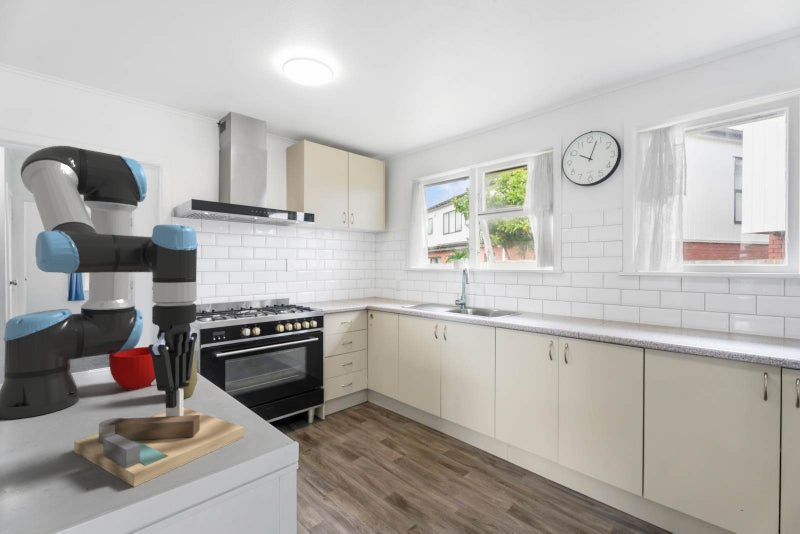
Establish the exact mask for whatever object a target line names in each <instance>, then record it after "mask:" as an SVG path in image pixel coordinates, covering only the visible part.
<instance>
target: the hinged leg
mask: <svg viewBox="0 0 800 534" xmlns="http://www.w3.org/2000/svg"><path fill="white" fill-rule="evenodd" d="M199 430H200V415H187V416H166V417H151V416H149V417H147V416H146V417H128V418H124V417H115V418H109V419H106V420H103V421H100V423H98V433H99V442H101V443H103V438H106V437H109V436H112V435H115V434H118V435H120V436H122V437H124V438H126V439H129V440H144V439H162V438H181V437H194V436H195V435H196V433H197V432H198V431H199Z"/></svg>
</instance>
